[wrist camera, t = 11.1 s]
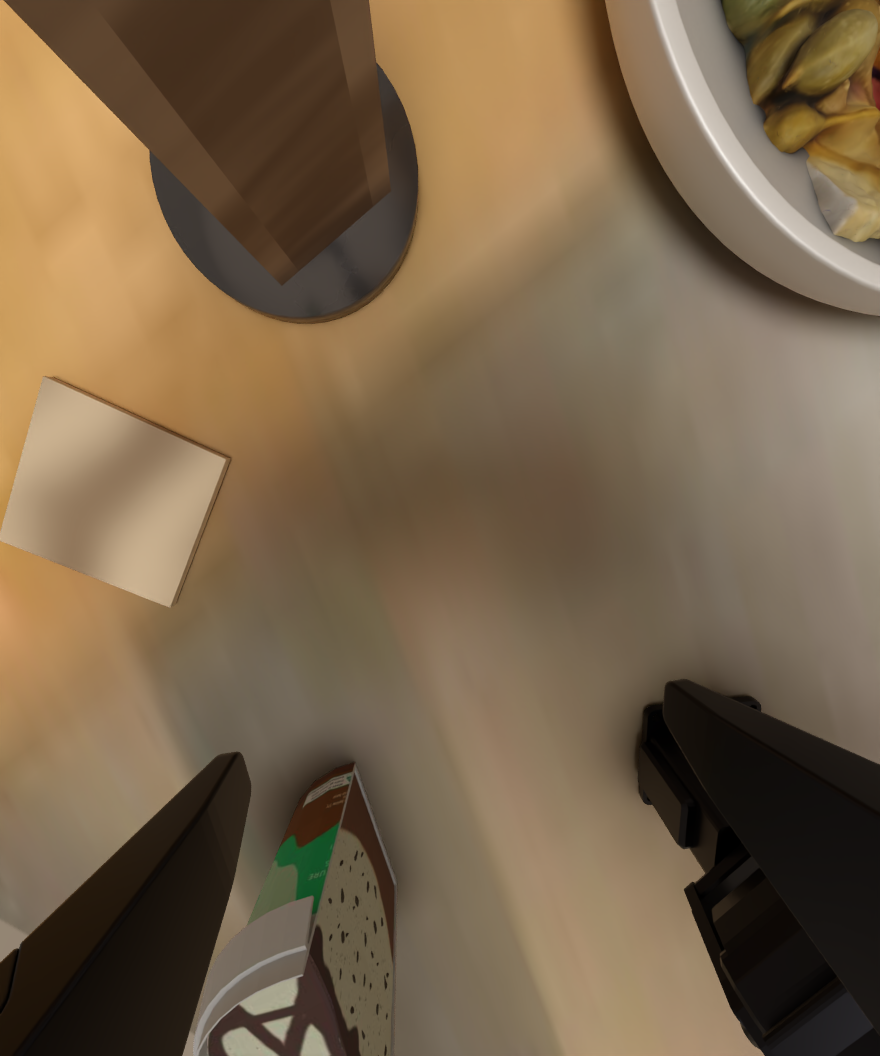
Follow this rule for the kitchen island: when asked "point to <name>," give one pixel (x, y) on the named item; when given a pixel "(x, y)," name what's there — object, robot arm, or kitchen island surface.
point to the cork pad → (111, 493)
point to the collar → (241, 106)
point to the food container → (313, 941)
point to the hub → (335, 273)
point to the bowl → (768, 130)
